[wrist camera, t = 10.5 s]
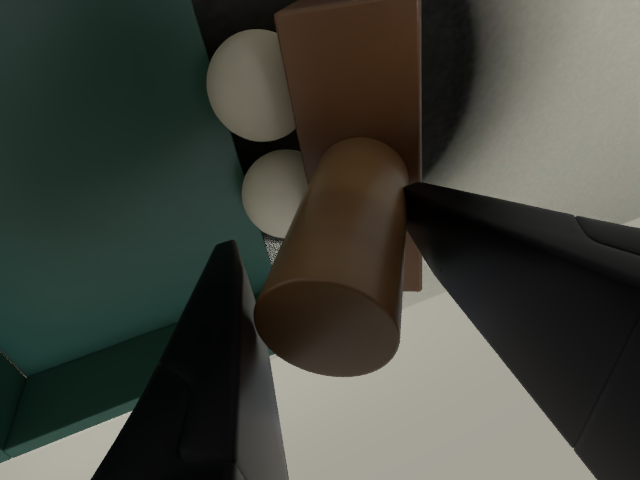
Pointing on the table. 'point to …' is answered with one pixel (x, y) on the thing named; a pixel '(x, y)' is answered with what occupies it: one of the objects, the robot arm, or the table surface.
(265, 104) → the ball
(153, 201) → the dustpan
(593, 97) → the table surface
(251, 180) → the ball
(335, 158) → the brush
